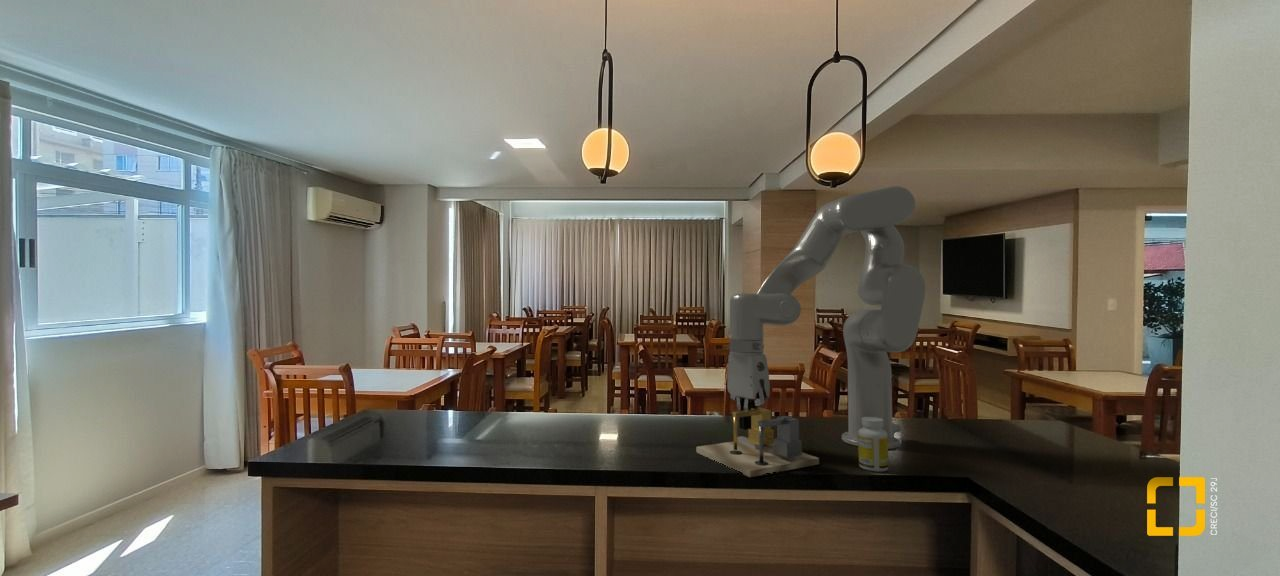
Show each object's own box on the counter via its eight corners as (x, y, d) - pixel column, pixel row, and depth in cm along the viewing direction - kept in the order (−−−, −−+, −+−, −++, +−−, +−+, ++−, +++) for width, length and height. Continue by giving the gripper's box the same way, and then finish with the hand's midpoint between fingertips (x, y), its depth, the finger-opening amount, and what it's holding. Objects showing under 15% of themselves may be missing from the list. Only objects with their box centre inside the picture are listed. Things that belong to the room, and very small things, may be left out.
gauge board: (759, 442, 116) (759, 433, 116) (819, 464, 100) (818, 453, 100) (696, 452, 107) (696, 442, 108) (749, 477, 91) (749, 465, 92)
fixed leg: (789, 454, 102) (788, 415, 102) (801, 458, 98) (801, 418, 99) (753, 460, 97) (753, 419, 98) (766, 465, 94) (765, 423, 95)
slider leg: (762, 442, 109) (762, 407, 109) (773, 446, 106) (773, 410, 106) (728, 447, 105) (728, 410, 105) (739, 451, 101) (739, 414, 102)
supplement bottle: (885, 465, 99) (884, 416, 100) (891, 473, 94) (890, 422, 95) (856, 462, 101) (855, 415, 101) (860, 471, 96) (860, 420, 96)
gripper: (782, 349, 107) (782, 434, 106) (738, 344, 120) (739, 420, 119) (755, 350, 103) (755, 438, 102) (713, 345, 117) (714, 423, 116)
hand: (746, 428), depth 111 cm, fingers closed
